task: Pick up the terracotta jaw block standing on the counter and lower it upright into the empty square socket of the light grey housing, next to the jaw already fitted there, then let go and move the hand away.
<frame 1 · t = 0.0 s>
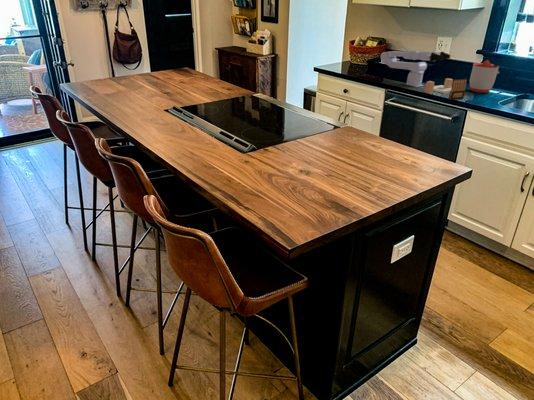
hand: (445, 57, 268), 22 cm above the countertop, tool horizontal, fingers open, 7 cm apart
jaw block: (428, 92, 274), on the countertop
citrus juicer: (480, 91, 282), on the countertop
housing: (442, 90, 281), on the countertop
ammunition clip: (455, 99, 261), on the countertop
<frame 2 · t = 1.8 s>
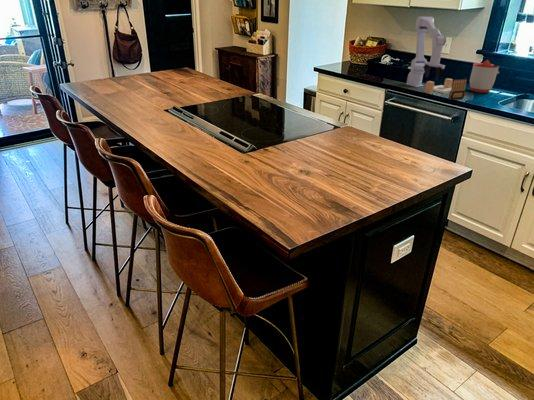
hand: (431, 78, 270), 9 cm above the countertop, tool pointing down, fingers open, 7 cm apart
nothing on the countertop moved.
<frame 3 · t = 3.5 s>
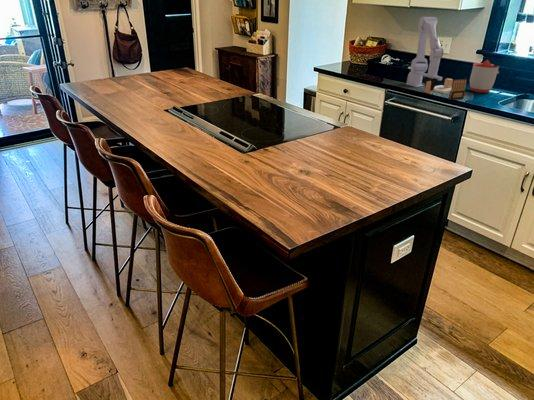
hand: (429, 89, 273), 2 cm above the countertop, tool pointing down, fingers closed on jaw block, 3 cm apart
jaw block: (428, 92, 274), on the countertop, touching gripper
everything else where it was.
when the fingers open (3 cm above the countertop, at t = 7.7 s): jaw block stays where it is, resting in housing.
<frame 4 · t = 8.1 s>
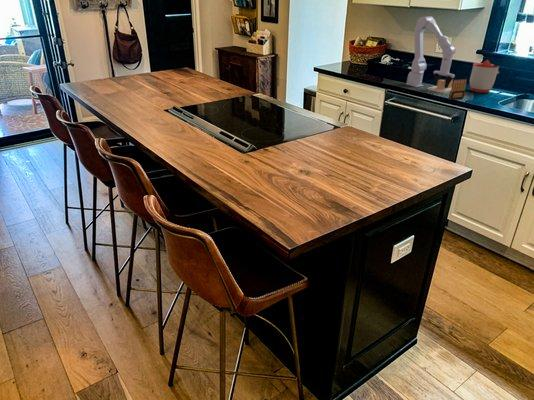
hand: (441, 86, 278), 3 cm above the countertop, tool pointing down, fingers open, 7 cm apart
jaw block: (439, 90, 279), resting in housing
everything else where it was.
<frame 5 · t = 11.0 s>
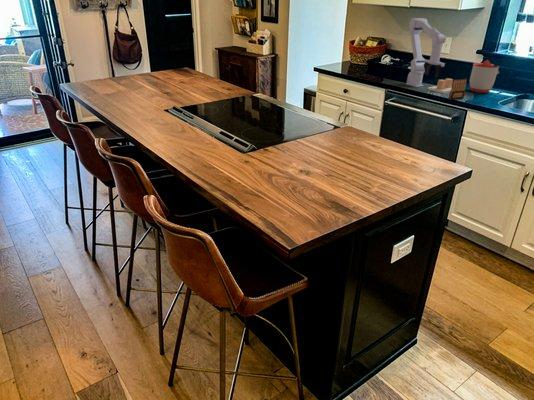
hand: (431, 76, 275), 9 cm above the countertop, tool pointing down, fingers open, 7 cm apart
nothing on the countertop moved.
at the end: jaw block 0.5 cm from the target spot on the housing, point 0.0 cm above the housing's base; jaw block tilted 0°; the gripper is holding nothing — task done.
